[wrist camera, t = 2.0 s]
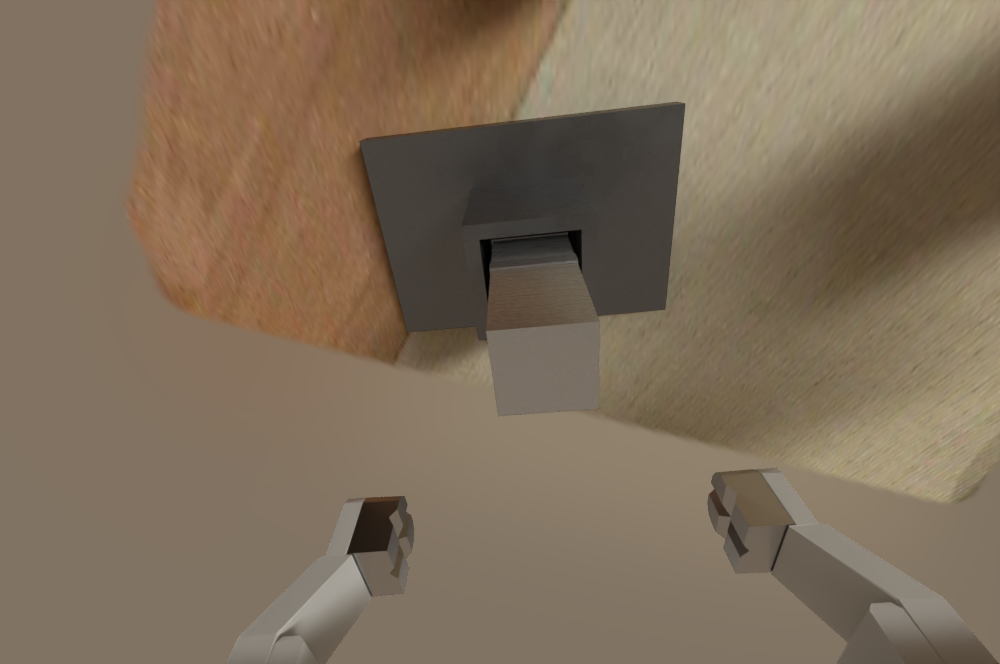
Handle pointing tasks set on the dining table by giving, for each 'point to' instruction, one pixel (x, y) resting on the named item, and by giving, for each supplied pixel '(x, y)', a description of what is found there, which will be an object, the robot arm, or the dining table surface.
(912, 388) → the dining table surface
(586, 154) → the stand
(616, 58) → the dining table surface
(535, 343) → the column
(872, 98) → the dining table surface
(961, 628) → the robot arm
